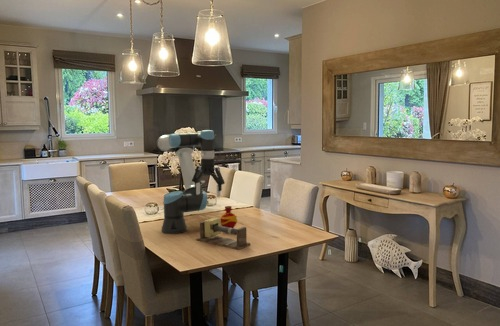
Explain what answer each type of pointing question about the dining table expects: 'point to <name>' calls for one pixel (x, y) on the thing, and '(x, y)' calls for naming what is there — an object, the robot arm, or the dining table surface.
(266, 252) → the dining table surface
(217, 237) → the pipe rig
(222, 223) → the potion bottle
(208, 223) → the collar
